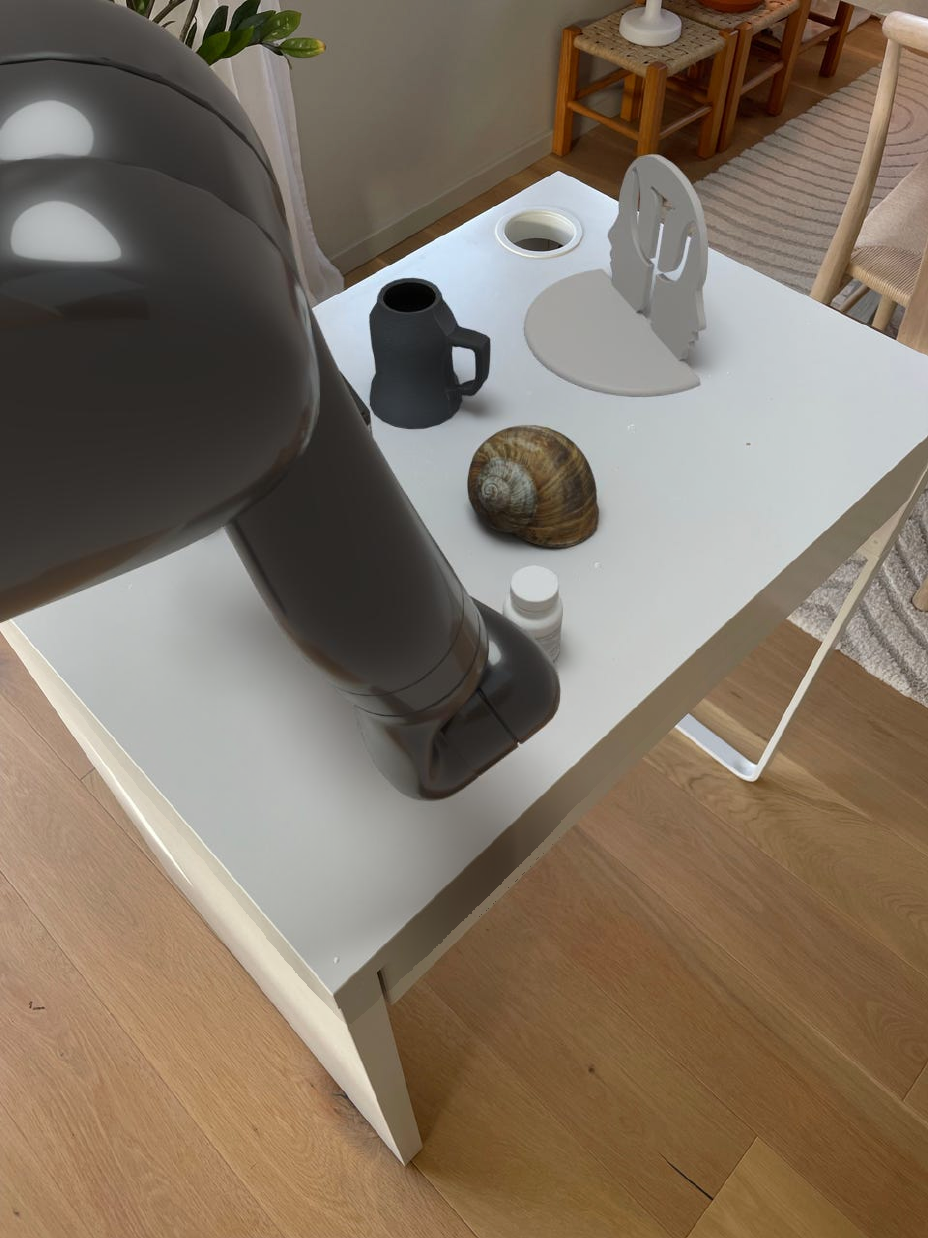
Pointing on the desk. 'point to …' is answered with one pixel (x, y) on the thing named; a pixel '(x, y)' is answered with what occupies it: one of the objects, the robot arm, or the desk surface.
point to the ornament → (631, 296)
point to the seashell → (534, 486)
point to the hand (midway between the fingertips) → (220, 381)
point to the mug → (420, 356)
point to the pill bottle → (536, 606)
